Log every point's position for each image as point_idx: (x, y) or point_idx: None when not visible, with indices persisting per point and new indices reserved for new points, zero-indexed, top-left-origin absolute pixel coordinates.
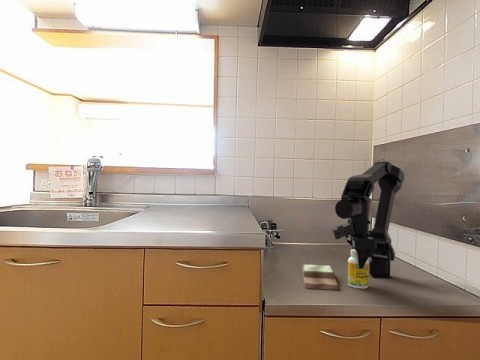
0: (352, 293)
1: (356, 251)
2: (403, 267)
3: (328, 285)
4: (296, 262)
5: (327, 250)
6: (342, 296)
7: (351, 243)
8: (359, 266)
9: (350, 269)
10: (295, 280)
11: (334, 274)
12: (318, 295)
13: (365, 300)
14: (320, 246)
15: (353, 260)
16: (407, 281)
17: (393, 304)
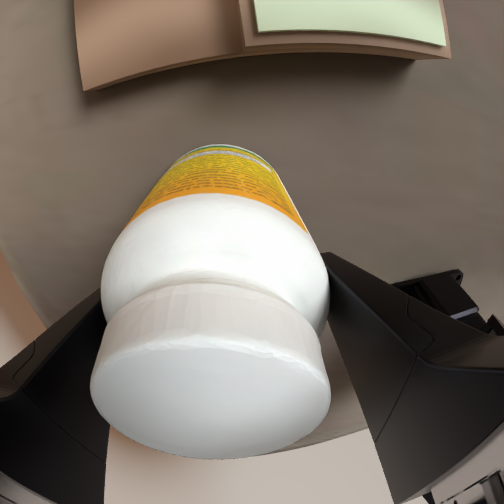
0: (73, 173)
1: (2, 391)
2: None
3: (78, 37)
4: None
5: None
6: (18, 132)
7: (456, 404)
8: (96, 293)
9: (152, 194)
10: None
11: (244, 46)
12: (2, 32)
13: (23, 232)
14: None
15: (110, 273)
16: (345, 382)
17: (48, 319)
